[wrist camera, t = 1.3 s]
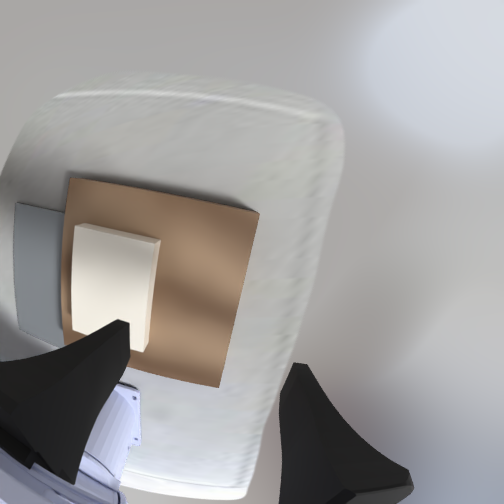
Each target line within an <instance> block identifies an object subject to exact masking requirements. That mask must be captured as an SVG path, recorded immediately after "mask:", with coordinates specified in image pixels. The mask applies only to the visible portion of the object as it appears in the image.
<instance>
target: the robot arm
mask: <svg viewBox="0 0 504 504" xmlns="http://www.w3.org/2000/svg"><path fill="white" fill-rule="evenodd" d="M130 357H131V355H130V323H129V322H125V321H122V320H120V319H116V320H115V321H113V322H111V323H109V324H107V325H105V326H104V327H102V328H100V329H98V330H97V331H95V332H93V333H91V334H89V335H87V336H85V337H83V338H81V339H79V340H77V341H75V342H73V343H71V344H69V345H67V346H64V347H62V348H60V349H57V350H54V351H51V352H48V353H45V354H42V355H38V356H34V357H30V358H26V359H21V360H14V361H6V362H0V504H128V503H127V500H126V497H125V495H124V493H122V492H120V491H119V486H120V483H121V482H120V481H119V480H120V478H121V475H122V472H123V469H124V466H125V463H126V460H127V457H128V454H129V451H130V448H131V445H135V446H140V444H141V432H140V392H139V391H138V390H137V389H134V388H131V387H127V386H124V385H121V384H118V382H119V380H120V378H121V377H122V375H123V373H124V371H125V369H126V366H127V364H128V362H129V360H130ZM134 396H135V397H136V398H135V397H134ZM279 420H280V434H281V446H282V474H281V487H280V497H279V504H397V503H398V502H400V501H401V500H403V499H404V498H406V497H407V496H408V495H410V494H411V492H412V491H413V490H414V485H413V482H412V479H411V476H410V473H409V470H407V469H406V468H404V467H402V466H400V465H398V464H397V463H395V462H393V461H391V460H390V459H388V458H387V457H385V456H384V455H382V454H381V453H380V452H378V451H377V450H376V449H374V448H373V447H372V446H370V445H369V444H368V443H367V442H366V441H365V440H364V439H363V438H361V437H360V436H359V435H358V434H357V433H356V432H355V431H354V430H353V429H352V428H351V426H350V425H349V424H348V423H347V422H346V421H345V420H344V419H343V417H342V416H341V415H340V414H339V412H338V411H337V410H336V409H335V407H334V406H333V404H332V403H331V402H330V401H329V399H328V398H327V396H326V394H325V393H324V391H323V390H322V388H321V386H320V385H319V383H318V381H317V380H316V378H315V376H314V375H313V373H312V371H311V370H310V368H309V367H308V365H307V364H301V363H293V365H292V368H291V370H290V372H289V375H288V377H287V379H286V381H285V384H284V386H283V388H282V390H281V393H280V403H279Z"/></svg>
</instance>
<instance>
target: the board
mask: <svg viewBox="0 0 504 504" xmlns="http://www.w3.org/2000/svg"><path fill="white" fill-rule="evenodd" d="M259 215H260V214H259V213H258V212H255V211H251V210H246V209H242V208H237V207H233V206H228V205H224V204H219V203H214V202H210V201H205V200H200V199H195V198H190V197H185V196H180V195H175V194H170V193H165V192H160V191H154V190H149V189H143V188H138V187H132V186H127V185H121V184H115V183H109V182H103V181H97V180H91V179H84V178H70V181H69V187H68V194H67V201H66V209H65V217H64V227H63V240H62V258H61V307H62V325H63V337H64V345H69V344H71V343H73V342H75V341H77V340H79V339H81V338H83V337H85V336H87V335H85V334H83V333H80V332H77V331H74V330H73V328H72V302H71V281H72V254H73V240H74V229H75V225H79V224H83V223H88V224H92V225H97V226H101V227H106V228H110V229H115V230H119V231H124V232H128V233H133V234H137V235H142V236H146V237H151V238H155V239H160V240H161V242H160V248H159V254H158V261H157V268H156V275H155V283H154V291H153V300H152V309H151V319H150V330H149V342H148V344H147V346H146V348H145V350H144V352H140V351H136V350H132V349H130V355H131V357H130V360H129V362H128V364H127V367H131V368H134V369H137V370H141V371H145V372H148V373H152V374H156V375H160V376H164V377H168V378H172V379H177V380H181V381H186V382H190V383H195V384H200V385H205V386H211V387H216V388H219V385H220V381H221V377H222V372H223V368H224V364H225V360H226V355H227V351H228V347H229V343H230V338H231V334H232V330H233V326H234V321H235V317H236V313H237V309H238V304H239V300H240V296H241V292H242V287H243V283H244V279H245V275H246V270H247V266H248V262H249V258H250V253H251V249H252V245H253V241H254V237H255V232H256V228H257V224H258V220H259Z"/></svg>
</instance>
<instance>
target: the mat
mask: <svg viewBox="0 0 504 504" xmlns="http://www.w3.org/2000/svg"><path fill="white" fill-rule="evenodd" d="M64 217H65V213H63V212H59V211H54V210H50V209H45V208H40V207H36V206H31V205H27V204H22V203H16V206H15V219H14V244H13V259H14V285H15V297H16V307H17V316H18V323H19V329H20V330H22V331H24V332H26V333H28V334H30V335H32V336H34V337H36V338H38V339H40V340H43V341H45V342H47V343H49V344H52V345H54V346H56V347H59V348H62V347H64V346H67V345H64V337H63V325H62V307H61V258H62V240H63V227H64Z"/></svg>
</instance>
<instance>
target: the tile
mask: <svg viewBox="0 0 504 504" xmlns="http://www.w3.org/2000/svg"><path fill="white" fill-rule="evenodd" d="M160 242H161V240H160V239H155V238H151V237H146V236H142V235H137V234H133V233H128V232H124V231H119V230H115V229H110V228H106V227H101V226H97V225H92V224H88V223H83V224H79V225H75V229H74V240H73V254H72V281H71V302H72V328H73V330H74V331H77V332H80V333H83V334H85V335H89V334H91V333H93V332H95V331H97V330H98V329H100V328H102V327H104V326H105V325H107V324H109V323H111V322H113V321H115V320H116V319H120V320H122V321H125V322H129V323H130V349H132V350H136V351H140V352H144V350H145V348H146V346H147V344H148V342H149V330H150V319H151V309H152V300H153V291H154V283H155V275H156V268H157V261H158V254H159V248H160Z"/></svg>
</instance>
